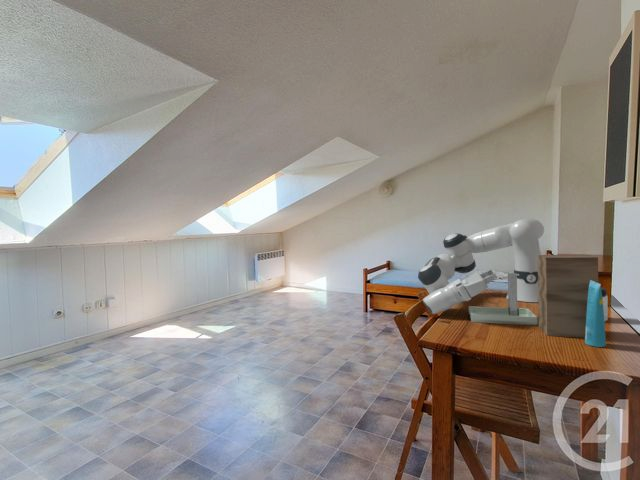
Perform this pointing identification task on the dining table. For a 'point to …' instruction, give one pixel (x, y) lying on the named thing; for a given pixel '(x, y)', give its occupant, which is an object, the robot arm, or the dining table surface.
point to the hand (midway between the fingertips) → (494, 273)
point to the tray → (501, 316)
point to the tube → (595, 317)
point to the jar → (605, 303)
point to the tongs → (512, 294)
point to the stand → (564, 293)
